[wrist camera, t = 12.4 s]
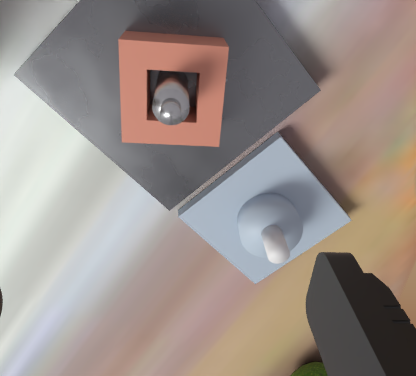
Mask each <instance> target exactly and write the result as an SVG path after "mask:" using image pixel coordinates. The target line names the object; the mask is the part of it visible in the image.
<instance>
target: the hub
mask: <svg viewBox="0 0 416 376" xmlns="http://www.w3.org/2000/svg"><path fill="white" fill-rule="evenodd" d="M124 31H136V32H150V33H164V34H178V35H192V36H206V37H220V38H224V39H225V41H226V43H227V45H228V46H229V51H228V62H227V72H226V82H225V92H224V102H223V112H222V122H221V132H220V142H219V147H212V146H190V145H168V144H147V143H125V142H122V131H121V102H120V72H119V43H118V39H119V38H120V37H121V35H122V34H123V33H124ZM14 75H15V76H16V77H17V78H18V79H19V80H20V81H21V82H23V83H24V84H25V85H26V86H27V87H28V88H29V89H31V90H32V91H33V92H34V93H35V94H36V95H37V96H39V97H40V98H41V99H42V100H43V101H44V102H45V103H47V104H48V105H49V106H50V107H51V108H52V109H54V110H55V111H56V112H57V113H58V114H59V115H60V116H62V117H63V118H64V119H65V120H66V121H67V122H68V123H70V124H71V125H72V126H73V127H74V128H75V129H76V130H78V131H79V132H80V133H81V134H82V135H83V136H85V137H86V138H87V139H88V140H89V141H90V142H91V143H93V144H94V145H95V146H96V147H97V148H98V149H99V150H101V151H102V152H103V153H104V154H105V155H106V156H107V157H109V158H110V159H111V160H112V161H113V162H114V163H116V164H117V165H118V166H119V167H120V168H121V169H122V170H124V171H125V172H126V173H127V174H128V175H129V176H130V177H132V178H133V179H134V180H135V181H136V182H137V183H138V184H140V185H141V186H142V187H143V188H144V189H145V190H146V191H148V192H149V193H150V194H151V195H152V196H153V197H155V198H156V199H157V200H158V201H159V202H160V203H161V204H163V205H164V206H165V207H166V208H167V209H168V210H169V211H170V210H171V209H172V208H173V207H175V206H176V205H177V204H178V203H180V202H181V201H182V200H183V199H185V198H186V197H187V196H188V195H190V194H191V193H192V192H194V191H195V190H196V189H197V188H199V187H200V186H201V185H202V184H204V183H205V182H206V181H207V180H209V179H210V178H211V177H212V176H214V175H215V174H216V173H217V172H219V171H220V170H221V169H222V168H224V167H225V166H226V165H227V164H229V163H230V162H231V161H232V160H234V159H235V158H236V157H237V156H239V155H240V154H241V153H243V152H244V151H245V150H246V149H248V148H249V147H250V146H251V145H253V144H254V143H255V142H256V141H258V140H259V139H260V138H261V137H263V136H264V135H265V134H266V133H268V132H269V131H270V130H271V129H273V128H274V127H275V126H276V125H278V124H279V123H280V122H281V121H283V120H284V119H285V118H287V117H288V116H289V115H290V114H292V113H293V112H294V111H295V110H297V109H298V108H299V107H300V106H302V105H303V104H304V103H305V102H307V101H308V100H309V99H310V98H312V97H313V96H314V95H315V94H317V93H318V92H319V91H320V88H319V87H318V86H317V84H316V83H315V82H314V80H313V79H312V78H311V76H310V75H309V73H308V72H307V71H306V69H305V68H304V67H303V65H302V64H301V63H300V61H299V60H298V58H297V57H296V56H295V54H294V53H293V52H292V50H291V49H290V48H289V46H288V45H287V43H286V42H285V41H284V39H283V38H282V37H281V35H280V34H279V32H278V31H277V30H276V28H275V27H274V26H273V24H272V23H271V22H270V20H269V19H268V17H267V16H266V15H265V13H264V12H263V11H262V9H261V8H260V7H259V5H258V4H257V2H256V1H255V0H80V1H79V3H78V4H77V5H76V6H75V7H74V8H73V9H72V10H71V11H70V13H69V14H68V15H67V16H66V17H65V18H64V19H63V20H62V21H61V23H60V24H59V25H58V26H57V27H56V28H55V29H54V30H53V31H52V33H51V34H50V35H49V36H48V37H47V38H46V39H45V40H44V41H43V43H42V44H41V45H40V46H39V47H38V48H37V49H36V50H35V51H34V53H33V54H32V55H31V56H30V57H29V58H28V59H27V60H26V61H25V63H24V64H23V65H22V66H21V67H20V68H19V69H18V70H17V71H16V72H15V74H14ZM196 82H197V73H195V72H179V71H163V70H150V104H151V105H152V110H153V113H154V115H155V117H156V118H157V119H158V120H159V121H160V122H161V123H163V124H166V125H177V124H180V123H181V122H183V121H184V120H185V119H186V118H187V116H188V114H189V110H190V107H195V98H196Z"/></svg>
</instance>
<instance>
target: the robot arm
mask: <svg viewBox="0 0 416 376" xmlns="http://www.w3.org/2000/svg"><path fill="white" fill-rule="evenodd" d="M2 303H3V299H2V293H1V289H0V315H1V311H2ZM306 314H307V319H308V322H309V325H310V328H311V331H312V333H313V336H314V339H315V342H316V344H317V347H318V350H319V353H320V355H321V358H322V361H323V364H324V367H325V369H326V372H327V375H328V376H416V328H415V327H414V325H413V324H410V319H409V318H408V316H407V315H406V313H405V312H404V310H403V309H401V307H400V304H399V302H398V301H397V299H396V298H395V296H394V295H393V293H392V291H391V290H390V288H389V287H387V286H386V285H385V284H384V283H383V282H381V281H380V280H379V279H378V278H377V277H376V276H374V275H373V274H372V273H363V271H362V269H361V268H360V266H359V264H358V263H357V261H356V259H355V258H354V256H353V255H352V254H351V253H335V252H321V253H319V254H318V255H317V258H316V261H315V265H314V269H313V273H312V277H311V280H310V284H309V288H308V292H307V296H306Z"/></svg>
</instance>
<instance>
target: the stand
mask: <svg viewBox="0 0 416 376" xmlns="http://www.w3.org/2000/svg"><path fill="white" fill-rule="evenodd" d="M178 217H179V218H180V219H181V220H183V221H184V222H185V223H186V224H187V225H188V226H189V227H191V228H192V229H193V230H194V231H195V232H196V233H197V234H199V235H200V236H201V237H202V238H203V239H204V240H205V241H207V242H208V243H209V244H210V245H211V246H212V247H213V248H215V249H216V250H217V251H218V252H219V253H220V254H221V255H223V256H224V257H225V258H226V259H227V260H228V261H229V262H231V263H232V264H233V265H234V266H235V267H236V268H238V269H239V270H240V271H241V272H242V273H243V274H244V275H246V276H247V277H248V278H249V279H250V280H251V281H252V282H254V283H255V284H256V283H258V282H259V281H261V280H262V279H264V278H265V277H267V276H268V275H270V274H271V273H273V272H274V271H276V270H277V269H279V268H280V267H282V266H284V265H285V264H287V263H288V262H290V261H291V260H293V259H294V258H296V257H297V256H299V255H300V254H302V253H303V252H305V251H306V250H308V249H309V248H311V247H312V246H314V245H315V244H317V243H318V242H320V241H321V240H323V239H324V238H326V237H327V236H329V235H330V234H332V233H333V232H335V231H336V230H338V229H339V228H341V227H342V226H344V225H345V224H347V223H348V222H350V221H351V219H350V218H349V216H348V215H347V213H346V212H345V211H344V210H343V208H342V207H341V206H340V205H339V204H338V202H337V201H336V200H335V199H334V198H333V197H332V195H331V194H330V193H329V192H328V191H327V189H326V188H325V187H324V186H323V185H322V184H321V182H320V181H319V180H318V179H317V178H316V176H315V175H314V174H313V173H312V172H311V171H310V169H309V168H308V167H307V166H306V165H305V163H304V162H303V161H302V160H301V159H300V157H299V156H298V155H297V154H296V153H295V152H294V150H293V149H292V148H291V147H290V146H289V144H288V143H287V142H286V141H285V140H284V139H283V137H282V136H281V135H280V134H279V133H278V132H277V133H275V134H274V135H273V136H271V137H270V138H269V139H268V140H266V141H265V142H264V143H263V144H261V145H260V146H259V147H258V148H256V149H255V150H254V151H252V152H251V153H250V154H249V155H247V156H246V157H245V158H244V159H242V160H241V161H240V162H239V163H237V164H236V165H235V166H233V167H232V168H231V169H230V170H228V171H227V172H226V173H225V174H223V175H222V176H221V177H220V178H218V179H217V180H216V181H214V182H213V183H212V184H211V185H209V186H208V187H207V188H206V189H204V190H203V191H202V192H201V193H199V194H198V195H197V196H195V197H194V198H193V199H192V200H190V201H189V202H188V203H187V204H185V205H184V206H183V207H182V208H180V209H179V210H178Z"/></svg>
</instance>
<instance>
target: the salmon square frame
mask: <svg viewBox="0 0 416 376" xmlns="http://www.w3.org/2000/svg"><path fill="white" fill-rule="evenodd" d="M118 43H119V72H120V102H121V131H122V142H125V143H147V144H168V145H190V146H212V147H219V142H220V132H221V122H222V112H223V102H224V92H225V82H226V72H227V62H228V51H229V46H228V45H227V43H226V41H225V39H224V38H220V37H206V36H192V35H178V34H164V33H150V32H136V31H124V33H123V34H122V35H121V37H120V38H119V39H118ZM150 70H163V71H179V72H195V73H197V82H196V98H195V107H190V110H189V114H188V116H187V118H186V119H185V120H184V121H183V122H181V123H180V124H177V125H166V124H163V123H161V122H160V121H159V120H158V119H157V118H156V117H155V115H154V113H153V110H152V105H151V104H150Z"/></svg>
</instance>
